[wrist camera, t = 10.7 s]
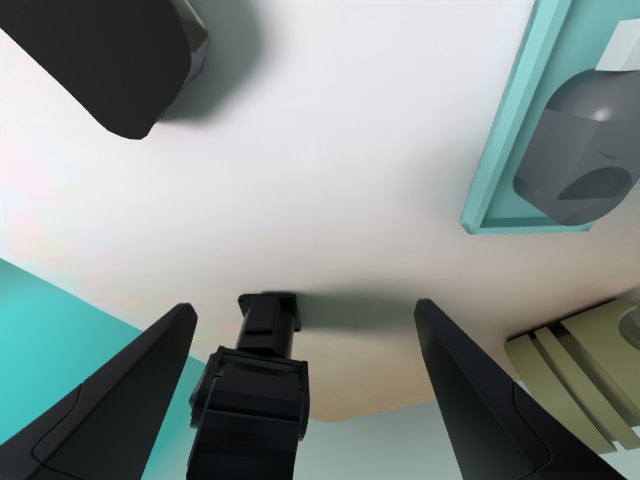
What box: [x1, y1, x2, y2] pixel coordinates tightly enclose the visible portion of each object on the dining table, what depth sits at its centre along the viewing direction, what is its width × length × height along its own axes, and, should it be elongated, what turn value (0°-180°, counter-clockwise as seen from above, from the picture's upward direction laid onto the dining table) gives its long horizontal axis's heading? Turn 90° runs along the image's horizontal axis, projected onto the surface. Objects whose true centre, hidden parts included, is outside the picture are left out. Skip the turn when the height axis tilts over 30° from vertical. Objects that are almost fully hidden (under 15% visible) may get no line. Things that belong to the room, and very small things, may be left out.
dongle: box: [513, 18, 640, 226], centre depth 15 cm, size 10×4×4 cm, turn 3°
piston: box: [504, 298, 640, 455], centre depth 26 cm, size 11×12×11 cm
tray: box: [459, 0, 640, 234], centre depth 16 cm, size 15×9×2 cm, turn 3°
